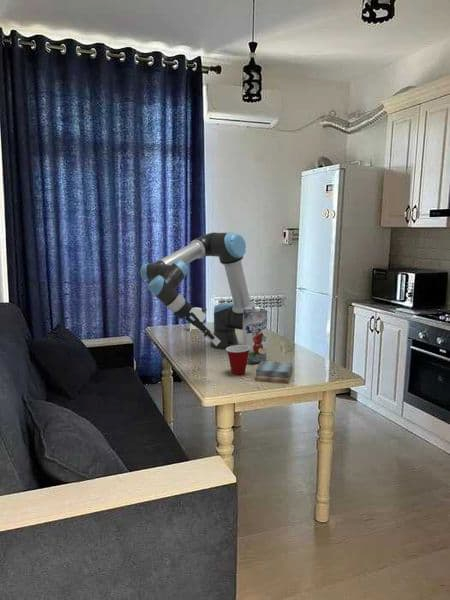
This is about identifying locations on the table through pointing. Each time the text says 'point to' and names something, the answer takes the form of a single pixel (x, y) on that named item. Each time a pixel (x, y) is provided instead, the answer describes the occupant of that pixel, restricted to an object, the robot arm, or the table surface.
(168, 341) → the table surface
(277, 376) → the build plate
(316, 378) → the table surface
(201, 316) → the white rounded piece
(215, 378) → the table surface
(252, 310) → the juice carton
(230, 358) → the plastic cup
